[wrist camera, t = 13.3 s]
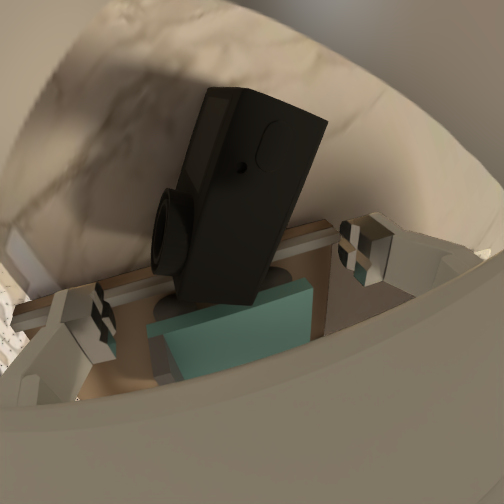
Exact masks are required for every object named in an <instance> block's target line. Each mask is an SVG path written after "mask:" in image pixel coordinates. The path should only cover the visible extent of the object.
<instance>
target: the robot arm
mask: <svg viewBox="0 0 504 504" xmlns="http://www.w3.org/2000/svg"><path fill="white" fill-rule="evenodd" d="M340 234H341V235H342V239H341V241H340V242H339V245H338V253H339V257H340V260H341V262H342V264H343V265H344V266H345V267H346V268H347V269H349V270H352V271H354V277H355V278H356V279H357V280H358V281H359V282H360V283H361V284H362V285H363V286H364V287H366V286H369V285H372V284H375V283H378V282H381V281H383V280H384V282H386V283H388V284H390V285H392V286H394V287H396V288H398V289H400V290H403V291H405V292H407V293H409V294H411V295H413V296H415V297H416V298H414V299H412V300H409V301H407V302H405V303H403V304H401V305H399V306H397V307H394V308H392V309H390V310H388V311H385V312H383V313H381V314H379V315H376V316H374V317H372V318H369V319H367V320H365V321H362V322H360V323H357V324H355V325H352V326H350V327H347V328H345V329H342V330H340V331H337V332H335V333H332V334H330V335H327V336H324V337H322V338H319V339H316V340H314V341H311V342H308V343H306V344H303V345H300V346H297V347H294V348H291V349H289V350H286V351H283V352H280V353H277V354H274V355H271V356H268V357H265V358H261V359H258V360H255V361H252V362H249V363H245V364H242V365H239V366H235V367H232V368H228V369H225V370H221V371H218V372H214V373H210V374H207V375H203V376H199V377H195V378H191V379H187V380H183V381H179V382H175V383H171V384H166V385H162V386H157V387H153V388H148V389H143V390H138V391H133V392H128V393H122V394H117V395H111V396H105V397H99V398H93V399H86V400H79V401H75V399H76V397H77V395H78V393H79V391H80V389H81V387H82V385H83V383H84V381H85V379H86V377H87V376H88V374H89V372H90V370H91V368H92V366H93V365H92V364H96V363H101V362H105V361H109V360H113V359H116V341H115V339H114V338H113V336H114V334H115V333H116V321H115V316H114V313H113V310H112V308H111V306H110V304H109V303H108V302H106V301H105V300H104V291H103V289H102V287H101V285H100V284H99V283H98V282H95V283H90V284H86V285H82V286H78V287H73V288H70V289H65V290H61V291H58V292H56V293H55V294H54V297H53V301H52V304H51V308H50V312H49V315H48V319H47V323H46V327H43V328H41V329H40V330H39V331H38V332H37V334H36V335H35V336H34V337H33V338H32V339H31V341H30V342H29V343H28V344H27V345H26V346H25V348H24V349H23V350H22V351H21V352H20V354H19V355H18V356H17V357H16V359H15V360H14V361H13V362H12V363H11V365H10V366H9V367H8V368H7V370H6V371H5V372H4V374H3V375H2V376H1V377H0V504H504V250H502V251H500V252H499V253H497V254H495V255H494V256H492V257H490V258H489V259H487V258H488V257H489V256H490V254H491V249H485V250H481V251H477V252H472V251H470V250H469V249H468V248H466V247H465V246H462V245H459V244H456V243H452V242H449V241H445V240H442V239H438V238H435V237H431V236H428V235H424V234H420V233H417V232H413V231H405V230H404V229H403V228H401V227H400V226H398V225H397V224H396V223H394V222H393V221H391V220H390V219H388V218H387V217H386V216H384V215H383V214H381V213H378V212H375V213H371V214H368V215H365V216H361V217H357V218H353V219H350V220H346V221H342V223H341V225H340ZM484 253H485V254H484ZM479 255H480V256H479Z"/></svg>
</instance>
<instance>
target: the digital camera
mask: <svg viewBox="0 0 504 504" xmlns="http://www.w3.org/2000/svg"><path fill="white" fill-rule="evenodd" d="M327 124H328V121H326V120H324V119H322V118H320V117H318V116H316V115H313V114H311V113H309V112H307V111H304V110H302V109H300V108H298V107H295V106H293V105H290V104H288V103H286V102H283V101H281V100H278V99H276V98H273V97H271V96H268V95H265V94H263V93H260V92H257V91H255V90H252V89H249V88H240V87H210V88H208V90H207V93H206V95H205V98H204V101H203V104H202V107H201V110H200V113H199V116H198V119H197V122H196V125H195V128H194V131H193V134H192V137H191V140H190V143H189V146H188V150H187V153H186V156H185V160H184V163H183V166H182V170H181V173H180V177H179V180H178V184H177V187H176V190H173V189H168V188H167V189H166V190H165V191H164V193H163V195H162V197H161V200H160V203H159V207H158V210H157V214H156V219H155V224H154V229H153V236H152V245H151V270H152V273H153V274H154V275H162V276H172V277H173V282H174V287H175V291H176V296H177V299H178V300H179V301H188V302H200V303H213V304H227V305H243V306H252V305H253V303H254V301H255V299H256V297H257V294H258V292H259V290H260V288H261V285H262V283H263V281H264V279H265V276H266V274H267V272H268V269H269V267H270V265H271V262H272V260H273V258H274V255H275V253H276V250H277V248H278V246H279V243H280V241H281V239H282V236H283V234H284V231H285V229H286V227H287V224H288V222H289V219H290V217H291V215H292V212H293V210H294V207H295V205H296V203H297V200H298V198H299V195H300V193H301V190H302V188H303V185H304V183H305V180H306V178H307V175H308V173H309V170H310V168H311V165H312V163H313V160H314V158H315V155H316V153H317V150H318V147H319V145H320V142H321V140H322V137H323V135H324V132H325V129H326V127H327Z"/></svg>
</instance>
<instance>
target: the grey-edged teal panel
mask: <svg viewBox="0 0 504 504" xmlns="http://www.w3.org/2000/svg"><path fill="white" fill-rule="evenodd" d="M312 302H313V287H312V285H311V284H310V283H309V282H308V281H307V279H306V278H305V277H304V278H301V279H298V280H295V281H292V276H291V274H290V273H289V272H288V271H287V270H285V269H283V268H280V267H269V269H268V272H267V274H266V276H265V279H264V281H263V283H262V285H261V288H260V290H259V292H258V294H257V297H256V299H255V301H254V303H253V305H252V306H243V305H227V304H218V305H215V306H211V307H208V308H204V309H201V310H197V307H196V303H195V302H188V301H179V300H178V299H177V296H176V293H175V294H171V295H168V296H166V297H164V298H162V299H161V300H159V301H158V302H157V304H156V305H155V307H154V309H153V315H154V318H155V320H156V322H155V323H151V324H147V325H146V329H147V337H148V344H149V351H150V358H151V365H152V371H153V377H154V379H155V380H156V382H157V384H158V385H159V386H162V385H166V384H171V383H175V382H179V381H183V380H187V379H191V378H195V377H199V376H203V375H207V374H210V373H214V372H218V371H221V370H225V369H228V368H232V367H235V366H239V365H242V364H245V363H249V362H252V361H255V360H258V359H261V358H265V357H268V356H271V355H274V354H277V353H280V352H283V351H286V350H289V349H291V348H294V347H297V346H300V345H303V344H306V343H308V342H310V333H311V319H312Z"/></svg>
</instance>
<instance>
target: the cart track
mask: <svg viewBox="0 0 504 504" xmlns="http://www.w3.org/2000/svg"><path fill="white" fill-rule="evenodd" d="M339 241H340V232H338V231H337V230H336V229H335V228H334V227H333V225H331V224H330V223H329V222H328V221H326V220H325V219H324V220H321V221H317V222H313V223H309V224H305V225H301V226H298V227H294V228H290V229H286V230H285V231H284V234H283V236H282V239H281V241H280V243H279V246H278V248H277V250H276V253H275V255H274V258H273V260H272V262H271V265H270V267H280V268H283V269H285V270H287V271H288V272H289V273H290V274H291V276H292V281H295V280H298V279H301V278H304V277H305V278H306V279H307V281H308V282H309V283H310V284H311V285H312V287H313V302H312V319H311V333H310V342H311V341H314V340H316V339H319V338H322V337H324V328H325V319H326V310H327V300H328V289H329V278H330V266H331V252H332V244H334V243H337V242H339ZM97 282H98V283H99V284H100V285H101V287H102V289H103V291H104V300H105V301H106V302H108V303H109V304H110V306H111V308H112V310H113V313H114V316H115V321H116V333H115V334H114V336H113V338H114V339H115V341H116V359H113V360H109V361H105V362H101V363H96V364H92V365H93V366H92V368H91V370H90V372H89V374H88V376H87V377H86V379H85V381H84V383H83V385H82V387H81V389H80V391H79V393H78V395H77V397H78V398H79V399H80V400H86V399H93V398H99V397H105V396H111V395H117V394H122V393H128V392H133V391H138V390H143V389H148V388H153V387H157V386H159V385H158V384H157V382H156V380H155V379H154V377H153V371H152V365H151V358H150V351H149V344H148V337H147V329H146V325H147V324H151V323H155V322H156V320H155V318H154V315H153V309H154V307H155V305H156V304H157V302H158V301H159V300H161V299H162V298H164V297H166V296H168V295H171V294H175V293H176V291H175V287H174V282H173V277H172V276H162V275H154V274H153V273H152V270H151V266H150V267H146V268H143V269H139V270H136V271H132V272H129V273H125V274H122V275H118V276H115V277H111V278H108V279H104V280H101V281H97ZM94 283H95V282H94ZM53 297H54V294H52V295H49V296H45V297H42V298H39V299H35V300H32V301H28V302H25V303H22V304H18V305H16V306H15V309H14V312H13V318H12V321H11V324H10V326H11V327H12V329H13V330H14V331H15V333H16V332H20V331H24V333H25V334H26V336H27V337H28V338H29V340H30V341H31V339H32V338H33V337H34V336H35V335H36V334H37V332H38V331H39V330H40V329H41V328H43V327H46V323H47V319H48V315H49V312H50V308H51V304H52V301H53ZM195 303H196V307H197V310H201V309H204V308H208V307H211V306H215V305H218V304H213V303H200V302H195Z"/></svg>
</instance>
